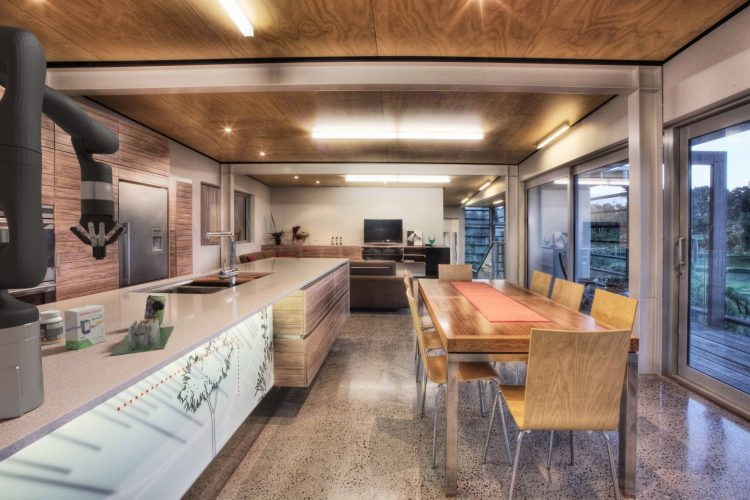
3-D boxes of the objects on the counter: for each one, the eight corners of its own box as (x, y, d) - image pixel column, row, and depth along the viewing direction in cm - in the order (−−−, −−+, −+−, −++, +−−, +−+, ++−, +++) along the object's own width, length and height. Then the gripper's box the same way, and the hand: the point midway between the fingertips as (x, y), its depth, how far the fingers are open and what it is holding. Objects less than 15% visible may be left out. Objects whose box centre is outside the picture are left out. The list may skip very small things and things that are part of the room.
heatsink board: (164, 348, 101) (163, 328, 100) (110, 355, 95) (109, 334, 95) (173, 327, 123) (173, 310, 123) (130, 331, 118) (130, 314, 118)
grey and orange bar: (146, 335, 101) (146, 332, 101) (131, 336, 99) (131, 333, 99) (156, 320, 118) (156, 317, 118) (144, 321, 117) (144, 318, 116)
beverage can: (145, 324, 127) (144, 293, 127) (168, 322, 130) (166, 291, 130) (142, 328, 122) (140, 296, 121) (165, 326, 125) (164, 294, 124)
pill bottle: (35, 343, 106) (33, 312, 106) (59, 338, 111) (57, 308, 111) (43, 346, 104) (41, 314, 103) (67, 341, 109) (65, 310, 108)
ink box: (93, 339, 110) (91, 304, 109) (106, 340, 109) (104, 304, 108) (64, 349, 101) (62, 310, 100) (78, 350, 100) (76, 311, 99)
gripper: (62, 196, 90) (64, 261, 91) (122, 198, 96) (124, 259, 96) (73, 199, 97) (75, 259, 97) (129, 201, 102) (130, 258, 103)
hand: (99, 259), depth 97 cm, fingers closed
